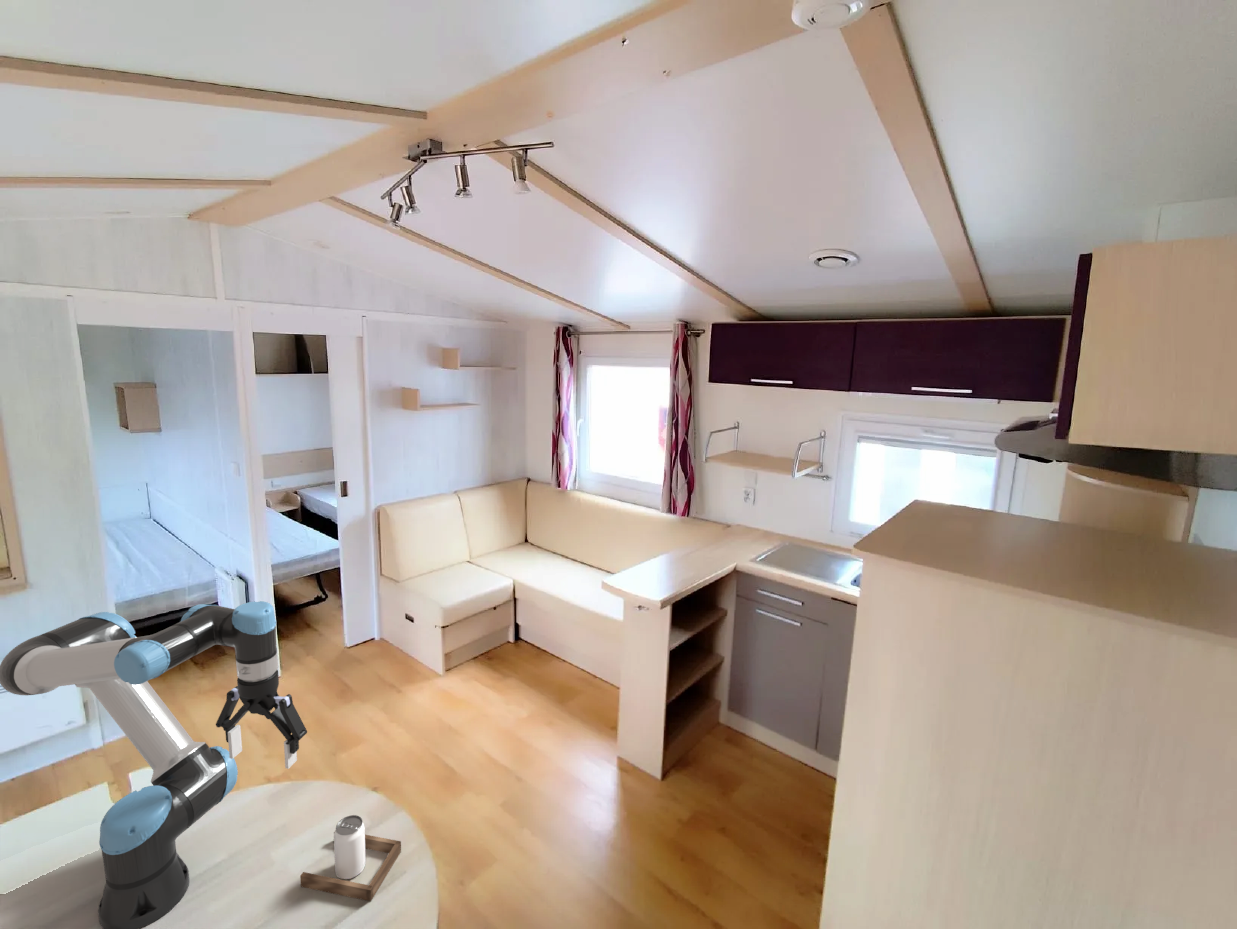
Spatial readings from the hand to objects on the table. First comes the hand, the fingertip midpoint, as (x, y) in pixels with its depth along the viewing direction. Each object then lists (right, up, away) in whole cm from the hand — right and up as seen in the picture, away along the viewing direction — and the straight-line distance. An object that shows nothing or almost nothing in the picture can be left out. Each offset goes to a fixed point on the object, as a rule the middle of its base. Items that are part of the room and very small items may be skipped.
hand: (263, 759), depth 127 cm
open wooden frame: (+17, -29, +7) cm, 34 cm away
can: (+16, -29, +7) cm, 34 cm away
